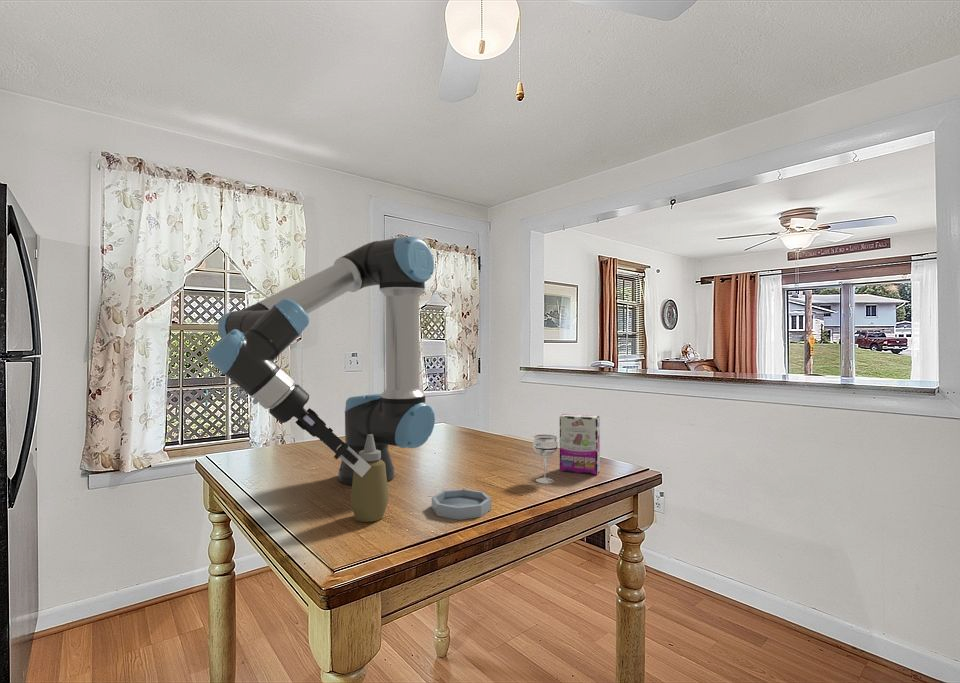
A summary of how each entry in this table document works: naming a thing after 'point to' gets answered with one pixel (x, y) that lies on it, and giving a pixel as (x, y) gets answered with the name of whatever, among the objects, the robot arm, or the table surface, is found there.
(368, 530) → the table surface
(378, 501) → the squeeze bottle
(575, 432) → the candy bar box
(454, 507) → the octagonal tray
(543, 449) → the wineglass
